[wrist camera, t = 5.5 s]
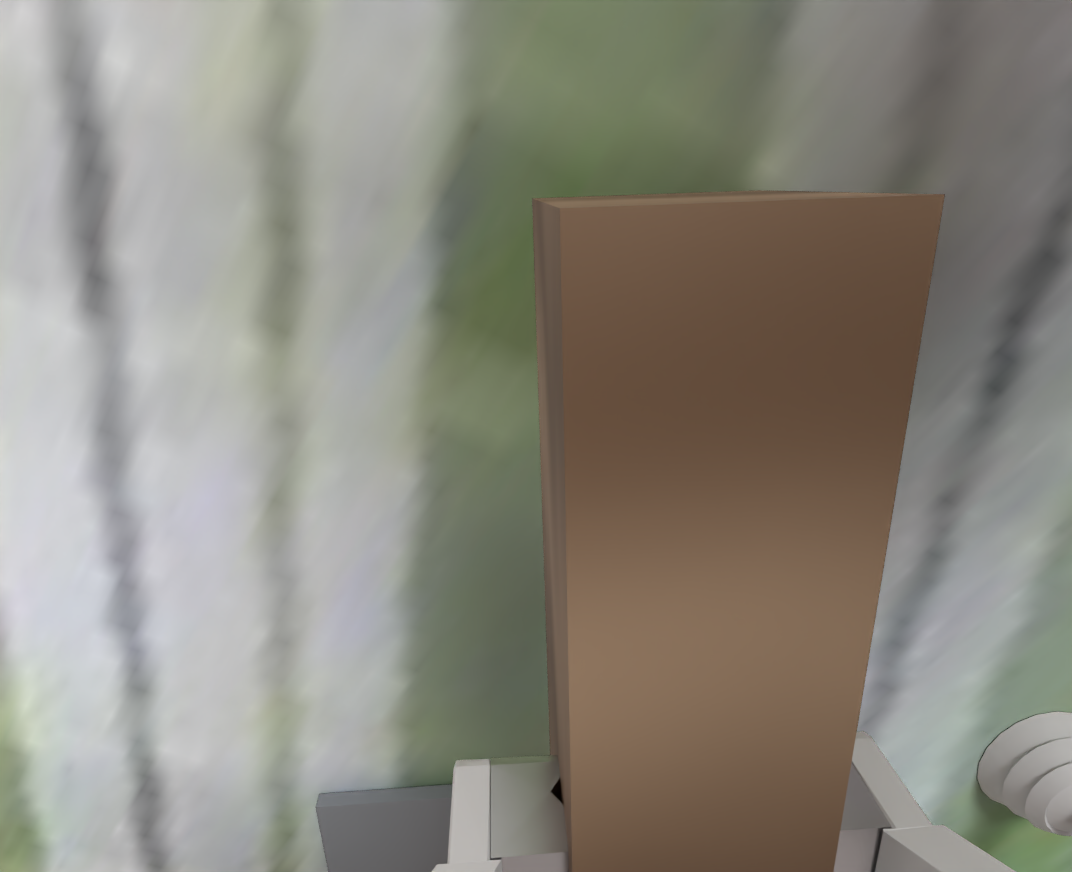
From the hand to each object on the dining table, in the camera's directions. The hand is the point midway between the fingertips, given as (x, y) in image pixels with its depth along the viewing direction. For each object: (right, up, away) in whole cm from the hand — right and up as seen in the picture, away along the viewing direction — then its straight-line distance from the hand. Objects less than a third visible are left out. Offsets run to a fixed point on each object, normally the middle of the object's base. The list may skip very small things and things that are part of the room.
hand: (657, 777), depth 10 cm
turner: (0, -1, +2) cm, 3 cm away
